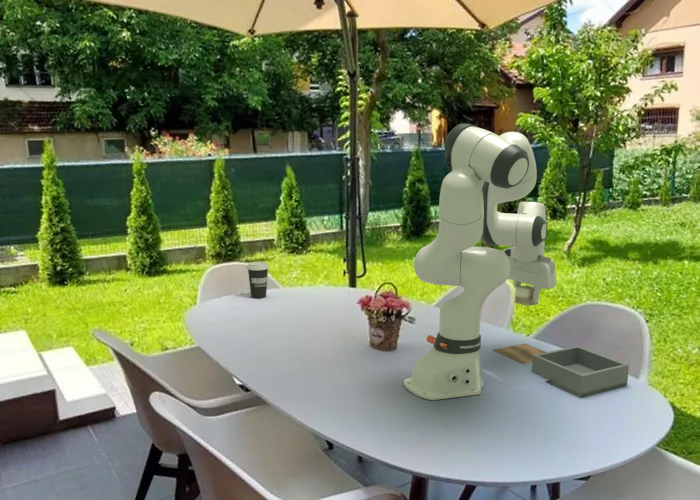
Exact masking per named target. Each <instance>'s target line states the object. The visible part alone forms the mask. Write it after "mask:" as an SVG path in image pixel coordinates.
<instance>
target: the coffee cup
mask: <svg viewBox="0 0 700 500" xmlns="http://www.w3.org/2000/svg"><path fill="white" fill-rule="evenodd" d="M269 267H270V266H269V264H268V262H265V261H253V262H252V261H251V262H249V263H248V265H247V267H246V269H247V272H248V281H249V289H250V297H251V298H252V299H257V300H259V299H260V300H261V299H265V298H267V291H268V290H267V289H268V288H267V286H268V272H269V269H270V268H269Z"/></svg>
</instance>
